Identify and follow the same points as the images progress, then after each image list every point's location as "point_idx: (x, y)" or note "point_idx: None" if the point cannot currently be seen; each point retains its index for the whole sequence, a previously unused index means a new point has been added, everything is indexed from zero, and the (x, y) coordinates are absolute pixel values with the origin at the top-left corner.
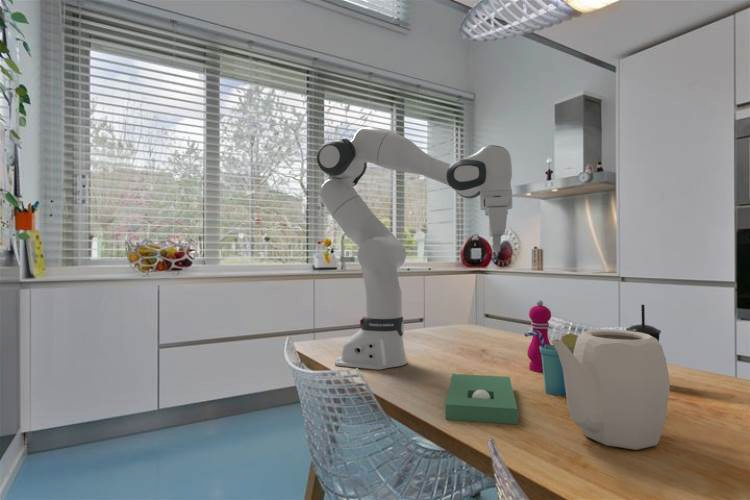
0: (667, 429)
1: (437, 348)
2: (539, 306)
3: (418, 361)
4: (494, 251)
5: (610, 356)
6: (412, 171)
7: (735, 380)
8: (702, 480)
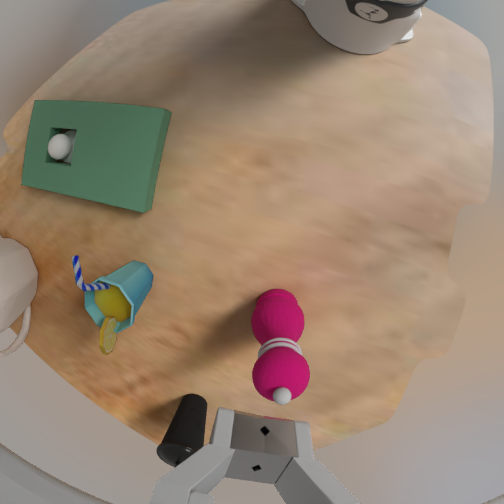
0: (44, 323)
1: (473, 155)
2: (271, 386)
3: (366, 77)
4: (293, 420)
5: None
6: None
7: None
8: None
